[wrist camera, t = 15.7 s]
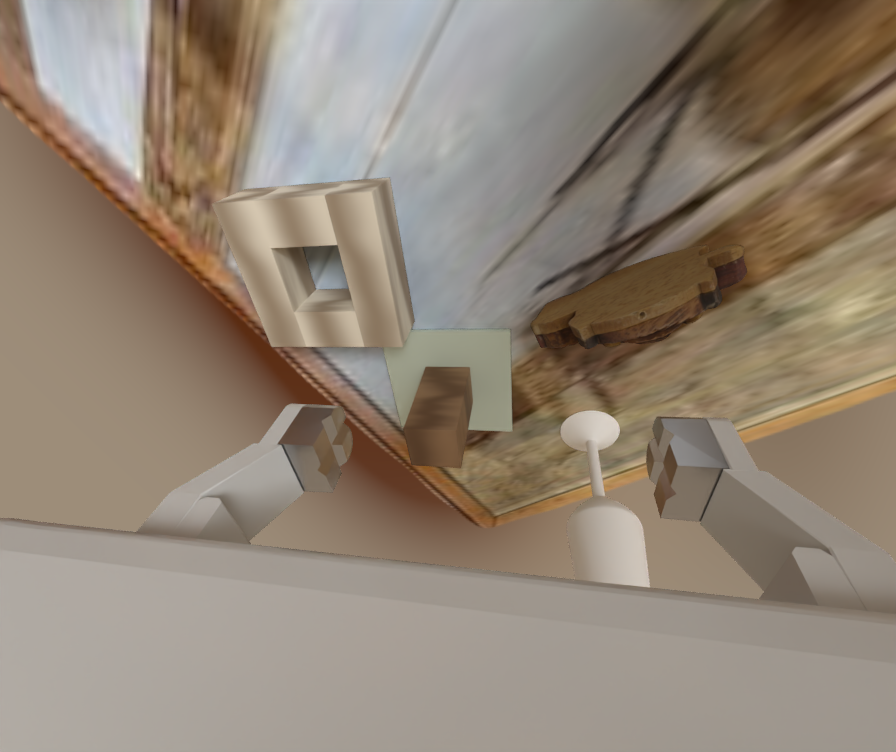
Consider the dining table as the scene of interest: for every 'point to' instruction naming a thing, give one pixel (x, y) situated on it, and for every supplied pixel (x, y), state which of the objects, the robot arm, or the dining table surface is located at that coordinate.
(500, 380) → the sage mat
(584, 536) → the champagne flute
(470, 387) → the walnut peg
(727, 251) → the wooden carving
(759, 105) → the dining table surface
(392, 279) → the pocket block
